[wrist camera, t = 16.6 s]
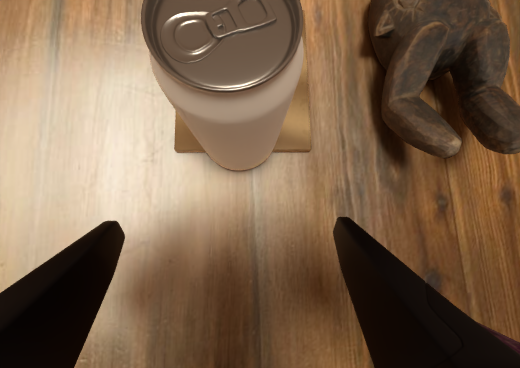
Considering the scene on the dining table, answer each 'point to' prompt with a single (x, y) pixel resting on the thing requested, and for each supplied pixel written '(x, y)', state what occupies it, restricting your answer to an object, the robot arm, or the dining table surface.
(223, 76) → the can
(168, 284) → the dining table surface
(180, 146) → the board
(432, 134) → the sculpture
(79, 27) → the dining table surface
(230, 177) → the dining table surface
